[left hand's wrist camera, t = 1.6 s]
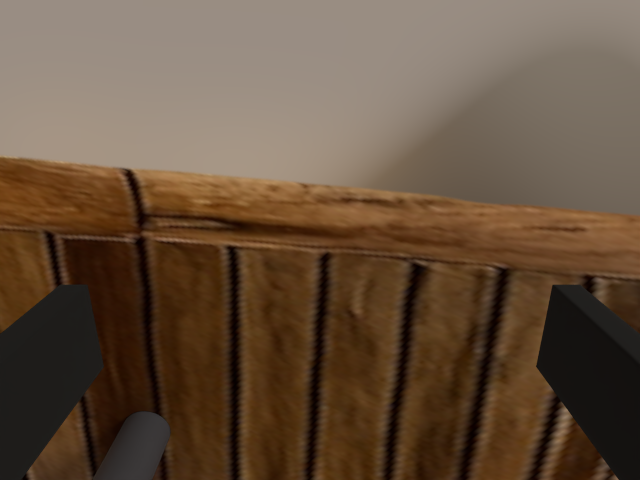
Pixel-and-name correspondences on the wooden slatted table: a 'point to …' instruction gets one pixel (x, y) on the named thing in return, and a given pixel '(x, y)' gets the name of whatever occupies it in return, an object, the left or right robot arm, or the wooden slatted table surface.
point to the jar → (136, 448)
